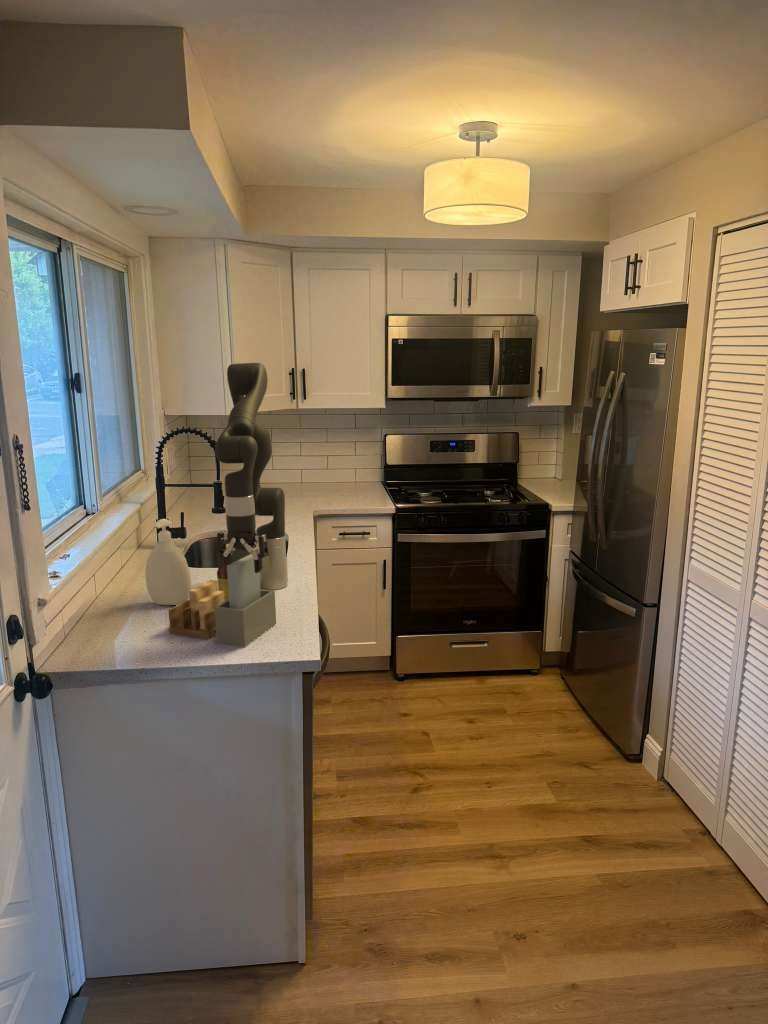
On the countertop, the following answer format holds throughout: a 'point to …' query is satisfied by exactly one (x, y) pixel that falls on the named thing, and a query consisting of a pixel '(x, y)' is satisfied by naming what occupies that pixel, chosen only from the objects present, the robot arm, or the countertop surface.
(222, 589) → the sauce bottle
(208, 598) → the beech offcut
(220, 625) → the bin
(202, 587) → the oak offcut
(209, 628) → the rack
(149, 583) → the soap bottle
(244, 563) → the tall sheet
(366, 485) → the countertop surface
